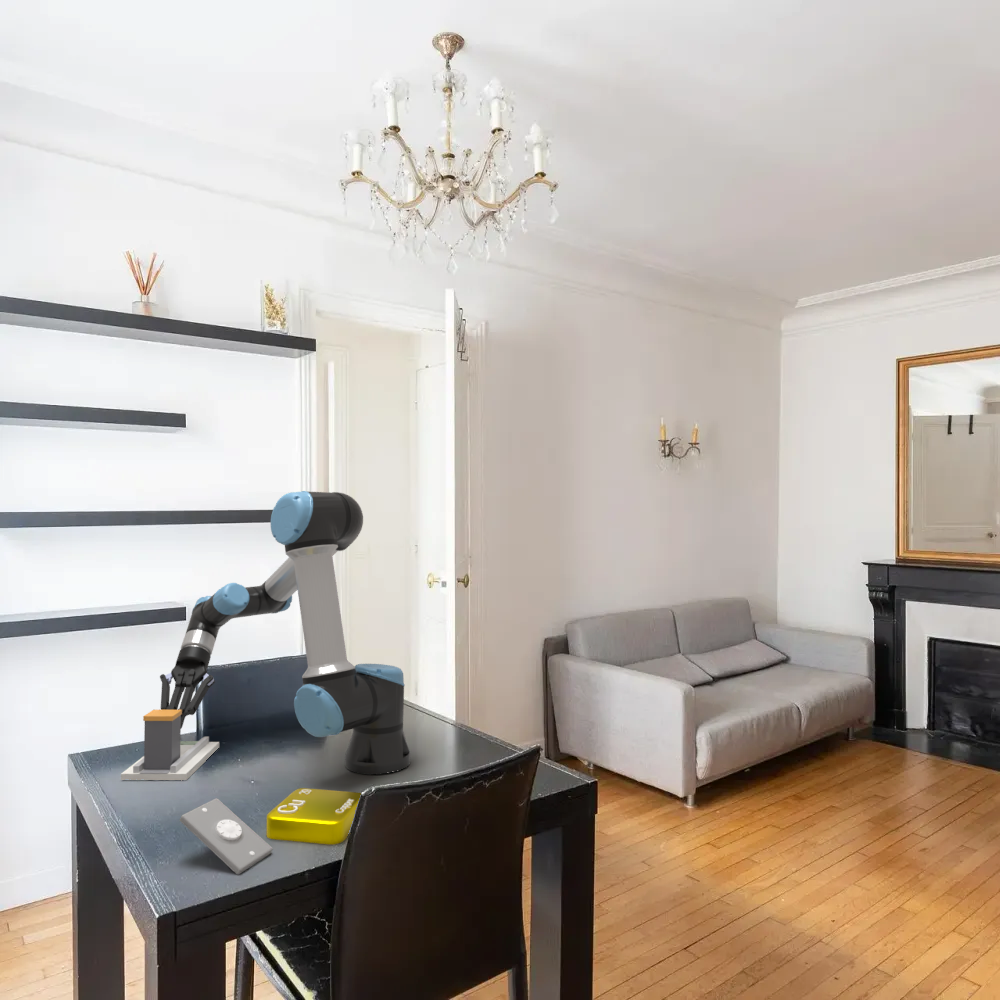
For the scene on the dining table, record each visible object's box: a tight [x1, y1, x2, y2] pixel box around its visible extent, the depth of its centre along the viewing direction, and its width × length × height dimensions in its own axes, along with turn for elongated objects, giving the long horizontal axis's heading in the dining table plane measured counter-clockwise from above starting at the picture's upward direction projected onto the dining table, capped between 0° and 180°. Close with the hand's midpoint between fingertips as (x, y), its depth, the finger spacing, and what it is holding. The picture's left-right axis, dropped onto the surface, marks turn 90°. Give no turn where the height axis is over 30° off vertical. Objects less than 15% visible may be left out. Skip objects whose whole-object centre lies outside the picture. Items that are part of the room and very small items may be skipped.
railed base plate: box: [120, 736, 220, 782], centre depth 178 cm, size 22×14×3 cm, turn 2°
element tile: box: [265, 787, 362, 846], centre depth 146 cm, size 15×15×5 cm
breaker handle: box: [142, 709, 182, 769], centre depth 172 cm, size 5×6×12 cm
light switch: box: [179, 798, 273, 875], centre depth 132 cm, size 8×6×14 cm
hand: (168, 741), depth 175 cm, fingers closed
